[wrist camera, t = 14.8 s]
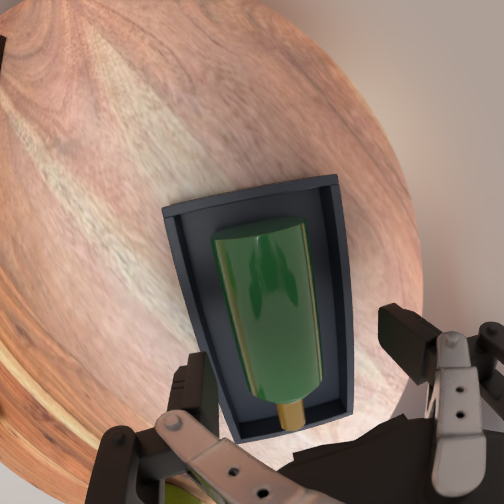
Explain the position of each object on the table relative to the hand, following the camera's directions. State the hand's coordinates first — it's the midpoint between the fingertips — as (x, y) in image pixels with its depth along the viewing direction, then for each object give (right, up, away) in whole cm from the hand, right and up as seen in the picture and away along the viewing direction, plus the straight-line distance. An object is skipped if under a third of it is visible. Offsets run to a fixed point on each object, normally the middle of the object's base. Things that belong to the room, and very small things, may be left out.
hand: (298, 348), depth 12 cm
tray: (0, -1, +8) cm, 8 cm away
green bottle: (0, -1, +8) cm, 8 cm away
